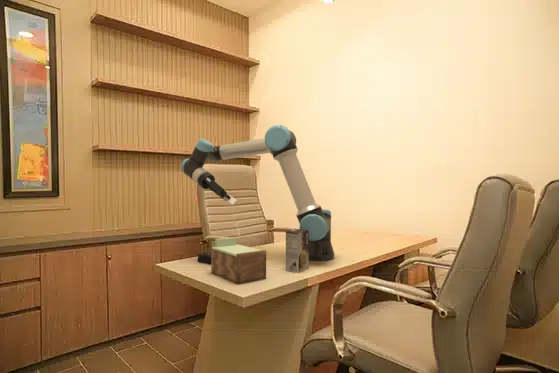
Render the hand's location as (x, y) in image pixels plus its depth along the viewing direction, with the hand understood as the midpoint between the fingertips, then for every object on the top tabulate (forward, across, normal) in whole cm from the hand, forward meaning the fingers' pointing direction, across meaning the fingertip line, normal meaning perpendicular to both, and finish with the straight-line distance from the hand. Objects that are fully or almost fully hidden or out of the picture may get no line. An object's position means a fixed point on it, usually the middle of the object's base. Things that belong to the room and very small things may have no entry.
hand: (235, 203), depth 150 cm
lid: (+20, +4, -15) cm, 25 cm away
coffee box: (+35, -16, -4) cm, 39 cm away
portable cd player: (+5, -18, -22) cm, 29 cm away
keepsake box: (+25, 0, -21) cm, 33 cm away
